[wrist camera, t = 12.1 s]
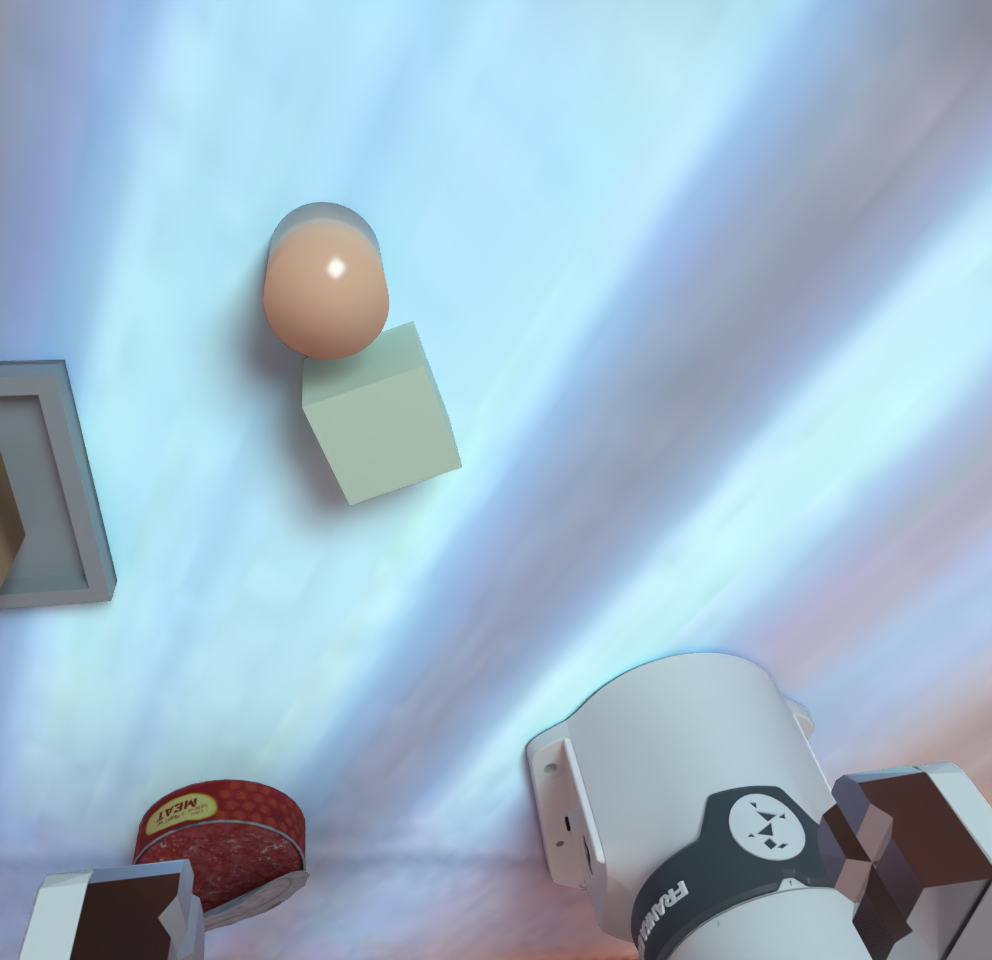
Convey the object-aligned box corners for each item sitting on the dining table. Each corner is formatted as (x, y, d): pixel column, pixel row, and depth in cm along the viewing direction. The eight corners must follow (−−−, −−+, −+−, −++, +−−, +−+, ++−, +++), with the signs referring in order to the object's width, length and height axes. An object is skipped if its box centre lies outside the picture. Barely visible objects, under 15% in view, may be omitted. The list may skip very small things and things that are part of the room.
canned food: (281, 725, 55) (363, 836, 49) (261, 837, 59) (334, 954, 53) (96, 782, 48) (164, 923, 41) (87, 907, 52) (147, 1053, 45)
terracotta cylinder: (381, 308, 36) (389, 358, 32) (274, 309, 36) (269, 361, 31) (379, 202, 34) (388, 241, 30) (264, 201, 33) (257, 242, 29)
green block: (448, 415, 40) (462, 467, 36) (346, 450, 40) (349, 505, 36) (412, 320, 37) (423, 365, 33) (303, 358, 37) (301, 407, 33)
